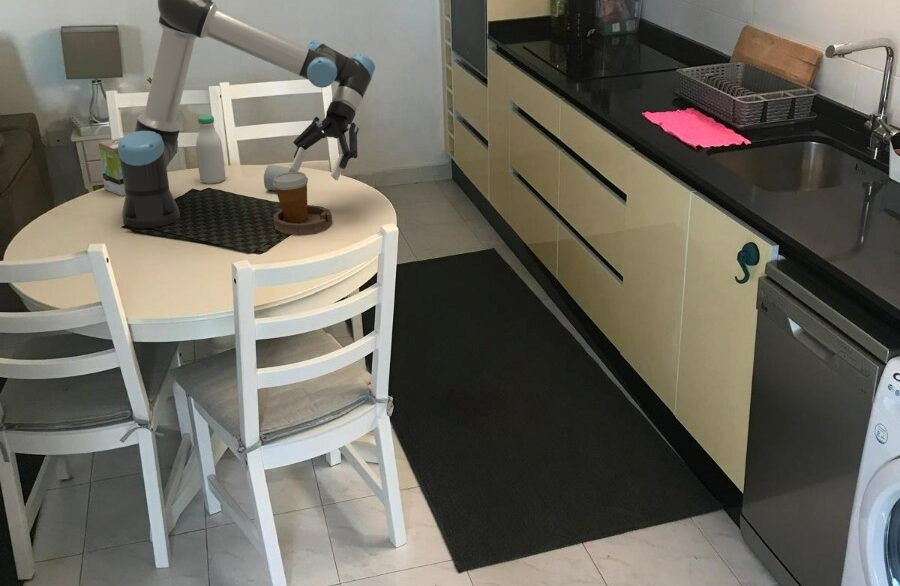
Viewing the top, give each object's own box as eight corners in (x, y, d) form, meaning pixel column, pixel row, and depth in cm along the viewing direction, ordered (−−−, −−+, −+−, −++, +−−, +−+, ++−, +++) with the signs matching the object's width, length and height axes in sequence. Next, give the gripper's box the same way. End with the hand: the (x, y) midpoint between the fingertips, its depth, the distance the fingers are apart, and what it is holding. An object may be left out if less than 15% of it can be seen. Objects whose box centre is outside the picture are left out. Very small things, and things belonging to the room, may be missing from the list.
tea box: (122, 197, 284) (114, 148, 278) (104, 189, 290) (96, 142, 284) (166, 184, 294) (160, 137, 288) (148, 177, 300) (141, 131, 294)
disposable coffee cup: (272, 224, 261) (265, 182, 256) (288, 211, 269) (281, 170, 264) (304, 225, 258) (297, 183, 253) (319, 213, 266) (313, 171, 261)
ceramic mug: (289, 195, 285) (288, 170, 281) (264, 193, 286) (262, 168, 283) (303, 184, 294) (302, 160, 291) (278, 182, 296) (276, 158, 293)
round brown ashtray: (277, 237, 254) (276, 227, 253) (271, 217, 267) (271, 208, 266) (335, 231, 258) (335, 221, 256) (327, 212, 271) (326, 203, 270)
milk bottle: (230, 180, 298) (224, 116, 289) (209, 186, 293) (202, 121, 284) (216, 174, 303) (209, 112, 294) (195, 180, 298) (187, 117, 289)
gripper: (387, 120, 263) (357, 187, 258) (314, 108, 275) (284, 173, 270) (375, 105, 257) (345, 174, 252) (301, 94, 268) (270, 160, 263)
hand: (313, 174), depth 261 cm, fingers open, 13 cm apart
